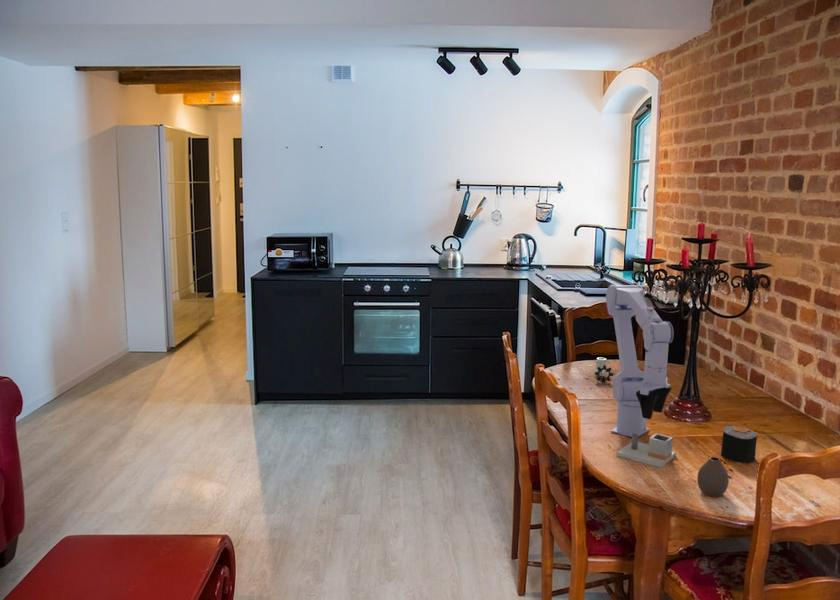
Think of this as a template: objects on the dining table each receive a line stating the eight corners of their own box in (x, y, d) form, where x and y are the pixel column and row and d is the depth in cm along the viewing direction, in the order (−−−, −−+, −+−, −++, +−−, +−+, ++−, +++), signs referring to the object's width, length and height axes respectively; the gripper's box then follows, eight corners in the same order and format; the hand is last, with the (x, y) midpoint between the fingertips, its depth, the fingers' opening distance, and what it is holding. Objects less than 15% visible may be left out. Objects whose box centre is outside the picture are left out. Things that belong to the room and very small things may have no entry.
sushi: (728, 448, 201) (731, 421, 199) (759, 457, 195) (762, 429, 193) (715, 456, 195) (718, 428, 194) (746, 465, 189) (749, 436, 188)
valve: (591, 373, 274) (594, 382, 262) (592, 356, 272) (595, 364, 261) (608, 374, 273) (612, 383, 261) (609, 357, 272) (614, 366, 260)
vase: (691, 492, 172) (694, 458, 171) (703, 484, 177) (707, 450, 176) (719, 502, 168) (723, 467, 166) (732, 493, 172) (735, 459, 171)
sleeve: (654, 450, 195) (656, 433, 195) (671, 455, 193) (673, 437, 192) (648, 455, 192) (649, 437, 191) (664, 460, 189) (666, 442, 188)
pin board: (633, 444, 203) (634, 427, 202) (675, 455, 195) (677, 437, 194) (616, 455, 194) (618, 438, 193) (660, 467, 187) (662, 449, 186)
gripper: (660, 373, 186) (656, 424, 188) (680, 364, 197) (676, 411, 199) (633, 369, 190) (630, 418, 192) (654, 359, 201) (651, 406, 203)
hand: (652, 414), depth 196 cm, fingers open, 7 cm apart
